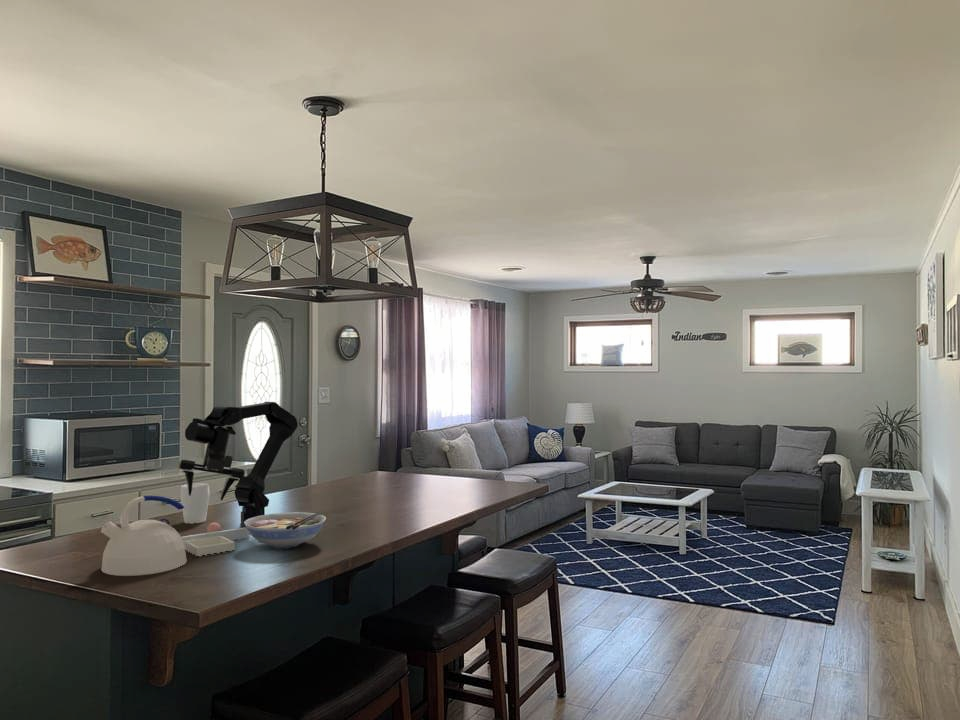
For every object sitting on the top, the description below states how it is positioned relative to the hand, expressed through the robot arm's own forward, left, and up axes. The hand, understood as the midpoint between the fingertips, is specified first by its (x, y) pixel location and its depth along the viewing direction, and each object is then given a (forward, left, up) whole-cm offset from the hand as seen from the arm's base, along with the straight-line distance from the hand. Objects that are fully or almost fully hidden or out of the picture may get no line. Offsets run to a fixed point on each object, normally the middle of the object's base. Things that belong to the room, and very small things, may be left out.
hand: (205, 498), depth 227 cm
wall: (+1, +9, -12) cm, 15 cm away
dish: (+5, +17, -12) cm, 22 cm away
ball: (-2, 0, -10) cm, 10 cm away
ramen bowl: (-13, +26, -12) cm, 32 cm away
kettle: (+24, +22, -12) cm, 35 cm away
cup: (-5, -25, -12) cm, 28 cm away
